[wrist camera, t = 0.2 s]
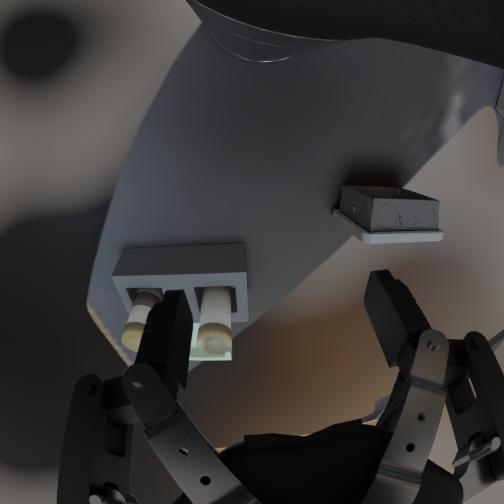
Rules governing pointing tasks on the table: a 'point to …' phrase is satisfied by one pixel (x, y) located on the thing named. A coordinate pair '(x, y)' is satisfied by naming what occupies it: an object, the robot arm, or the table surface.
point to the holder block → (185, 273)
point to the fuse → (215, 321)
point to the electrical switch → (388, 215)
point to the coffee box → (501, 101)
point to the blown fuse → (140, 316)
